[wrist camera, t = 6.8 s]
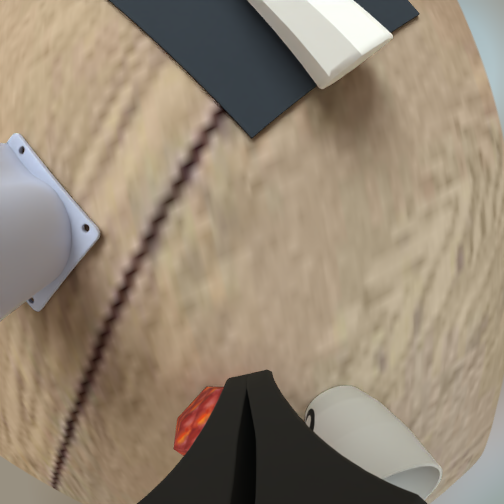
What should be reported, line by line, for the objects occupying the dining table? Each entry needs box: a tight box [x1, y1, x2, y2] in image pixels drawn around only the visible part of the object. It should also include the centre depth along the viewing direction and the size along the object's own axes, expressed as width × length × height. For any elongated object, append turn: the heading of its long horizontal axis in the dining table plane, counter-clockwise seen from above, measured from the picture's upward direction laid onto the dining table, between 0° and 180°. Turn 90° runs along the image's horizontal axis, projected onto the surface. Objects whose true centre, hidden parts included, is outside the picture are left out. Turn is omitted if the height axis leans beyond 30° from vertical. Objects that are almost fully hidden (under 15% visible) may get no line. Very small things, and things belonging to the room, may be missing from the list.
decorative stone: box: [174, 387, 224, 456], centre depth 19 cm, size 6×7×8 cm
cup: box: [305, 385, 442, 500], centre depth 18 cm, size 8×8×10 cm
